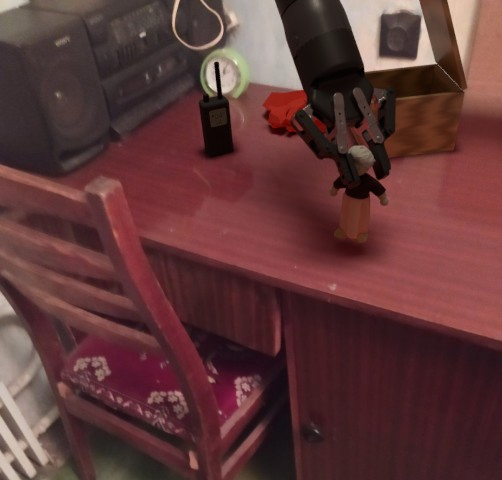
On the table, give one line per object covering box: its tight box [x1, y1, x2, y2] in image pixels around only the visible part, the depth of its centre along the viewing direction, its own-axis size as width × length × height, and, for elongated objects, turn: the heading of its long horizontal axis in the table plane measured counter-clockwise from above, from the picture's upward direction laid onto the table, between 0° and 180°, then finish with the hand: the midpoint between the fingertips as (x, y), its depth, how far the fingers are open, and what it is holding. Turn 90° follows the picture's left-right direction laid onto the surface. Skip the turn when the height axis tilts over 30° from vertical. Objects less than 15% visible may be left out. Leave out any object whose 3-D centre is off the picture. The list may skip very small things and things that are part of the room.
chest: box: [349, 63, 465, 159], centre depth 98 cm, size 15×13×10 cm
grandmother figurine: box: [328, 145, 390, 244], centre depth 73 cm, size 8×4×13 cm, turn 73°
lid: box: [418, 0, 468, 91], centre depth 88 cm, size 15×13×5 cm
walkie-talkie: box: [198, 61, 235, 158], centre depth 97 cm, size 5×3×15 cm
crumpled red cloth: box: [262, 89, 326, 134], centre depth 107 cm, size 12×15×5 cm
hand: (369, 181), depth 70 cm, fingers closed on grandmother figurine, 3 cm apart
